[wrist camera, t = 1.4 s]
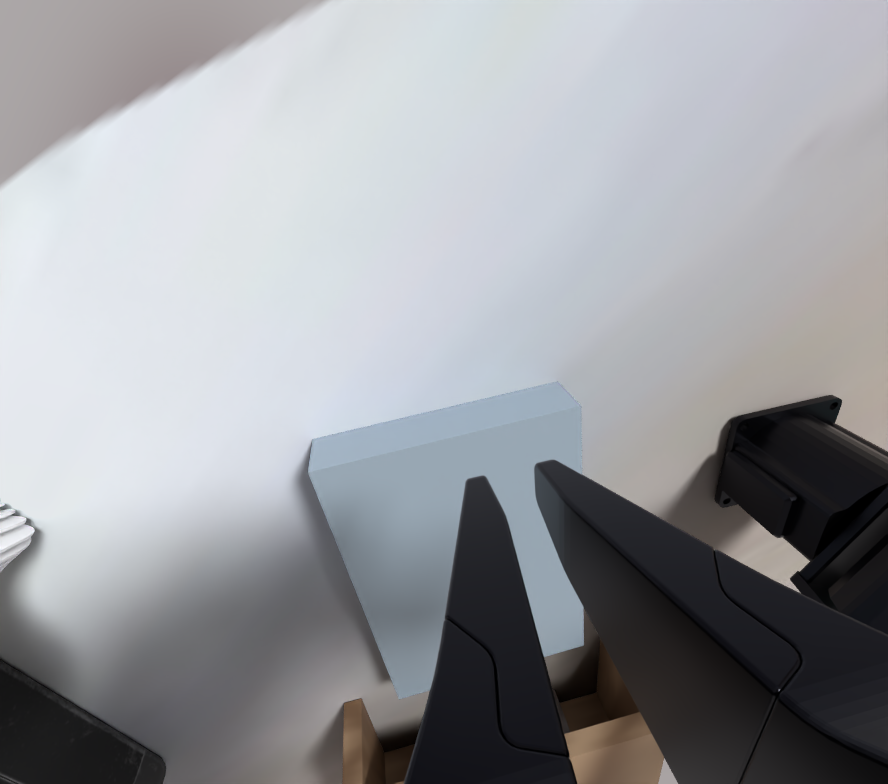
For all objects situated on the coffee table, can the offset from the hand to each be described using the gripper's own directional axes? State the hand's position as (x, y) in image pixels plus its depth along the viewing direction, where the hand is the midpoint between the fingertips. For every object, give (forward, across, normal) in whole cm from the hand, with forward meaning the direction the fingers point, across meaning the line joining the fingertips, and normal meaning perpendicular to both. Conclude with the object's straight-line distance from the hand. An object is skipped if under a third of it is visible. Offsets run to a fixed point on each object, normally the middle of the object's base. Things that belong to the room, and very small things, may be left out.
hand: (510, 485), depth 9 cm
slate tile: (+12, 0, +14) cm, 18 cm away
